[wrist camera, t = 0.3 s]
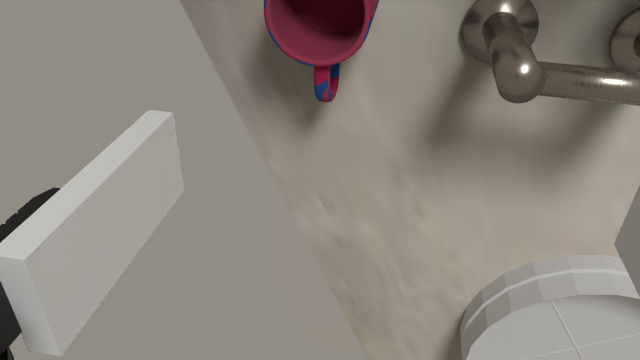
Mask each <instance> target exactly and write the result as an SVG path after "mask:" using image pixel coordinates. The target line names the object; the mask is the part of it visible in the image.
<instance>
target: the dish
mask: <svg viewBox="0 0 640 360" xmlns="http://www.w3.org/2000/svg"><path fill="white" fill-rule="evenodd" d="M460 336H461V355H462V360H640V297H639V295H638V293H637V291H636V289H635V287H634V285H633V282H632V280H631V278H630V276H629V274H628V272H627V270H626V268H625V266H624V264H623V262H622V260H621V258H616V257H610V256H605V255H568V256H561V257H556V258H551V259H546V260H541V261H536V262H532V263H529V264H527V265H525V266H522V267H520V268H517V269H515V270H512V271H510V272H508V273H505V274H503V275H502V276H500V277H499V278H498V279H496V280H495V281H493V282H492V283H490V284H489V285H488V286H486V287H485V288H483V289H482V290H481V291H480V292H479V293H478V295H477V296H476V297H475V298H474V299H473V301H472V302H471V303H470V304H469V306H468V307H467V308H466V311H465V314H464V317H463V320H462V323H461V325H460Z"/></svg>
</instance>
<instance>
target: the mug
mask: <svg viewBox="0 0 640 360" xmlns="http://www.w3.org/2000/svg"><path fill="white" fill-rule="evenodd" d="M378 2H379V0H264V17H265V22H266V25H267V28H268V31H269V33H270V35H271V37H272V39H273V41H274V42H275V43H276V44H277V46H278V47H279V48H280V49H281V50H282V51H283V52H284V53H285V54H286V55H288V56H289V57H291V58H292V59H294V60H296V61H298V62H300V63H302V64H306V65H310V66H314V83H315V93H316V97H317V99H318V100H319V101H321V102H331V101H332V100H333V99H334V97H335V95H336V92H337V88H338V81H339V68H340V62H342V61H345V60H346V59H348V58H349V57H351V56H352V55H353V54H354V53H355V52H356V51H357V50H358V49H359V48H360V47H361V45H362V44H363V42H364V41H365V39H366V37H367V34H368V32H369V29H370V26H371V23H372V20H373V17H374V14H375V11H376V8H377V5H378Z"/></svg>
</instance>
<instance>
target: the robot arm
mask: <svg viewBox="0 0 640 360" xmlns="http://www.w3.org/2000/svg"><path fill="white" fill-rule="evenodd" d="M183 191H184V184H183V177H182V171H181V163H180V157H179V150H178V143H177V136H176V129H175V122H174V115H173V112H163V111H154V110H148V111H147V112H146V113H145V114H144V115H143V116H142V117H140V118H139V119H138V120H137V121H136V122H135V123H134V124H133V125H132V126H130V127H129V128H128V129H127V130H126V131H125V132H124V133H123V134H121V135H120V136H119V137H118V138H117V139H116V140H115V141H114V142H113V143H111V144H110V145H109V146H108V147H107V148H106V149H105V150H104V151H102V152H101V153H100V154H99V155H98V156H97V157H96V158H95V159H94V160H92V161H91V162H90V163H89V164H88V165H87V166H86V167H85V168H84V169H83V170H81V171H80V172H79V173H78V174H77V175H76V176H75V177H73V178H72V179H71V180H70V181H69V182H68V183H67V184H66V185H64V186H63V187H62V188H52V189H50V190H48V191H46V192H44V193H42V194H40V195H38V196H36V197H34V198H32V199H31V200H30V201H29V202H28V203H26V204H25V205H24V206H23V207H22V208H21V209H19V210H18V213H15V214H14V215H12V217H10V218H9V219H8V220H7V221H6V224H2V225H1V226H0V360H14V357H13V355H12V352H11V350H10V348H9V346H10V345H11V344H12V342H13V341H14V340H15V339H16V338H17V336H18V335H19V334H20V333H21V334H22V336H23V339H24V341H25V343H26V345H27V348H28V350H29V351H32V352H37V353H43V354H49V355H54V356H60V357H61V356H62V355H63V353H64V352H65V351H66V349H67V348H68V347H69V345H70V344H71V343H72V341H73V340H74V339H75V337H76V336H77V334H78V333H79V332H80V330H81V329H82V327H83V326H84V325H85V324H86V322H87V321H88V320H89V318H90V317H91V315H92V314H93V313H94V311H95V310H96V309H97V307H98V306H99V305H100V303H101V302H102V301H103V299H104V298H105V297H106V295H107V294H108V293H109V291H110V290H111V289H112V287H113V286H114V284H115V283H116V282H117V280H118V279H119V278H120V276H121V275H122V273H123V272H124V271H125V269H126V268H127V267H128V266H129V264H130V263H131V262H132V260H133V259H134V257H135V256H136V255H137V253H138V252H139V251H140V249H141V248H142V247H143V245H144V244H145V243H146V241H147V240H148V239H149V237H150V236H151V234H152V233H153V232H154V230H155V229H156V227H157V226H158V225H159V223H160V222H161V221H162V220H163V218H164V217H165V215H166V214H167V213H168V211H169V210H170V209H171V207H172V206H173V205H174V203H175V202H176V201H177V199H178V198H179V197H180V195H181V194H182V193H183ZM614 245H615V247H616V249H617V251H618V253H619V255H620V258H621V260H622V262H623V264H624V266H625V268H626V270H627V272H628V274H629V276H630V278H631V280H632V282H633V285H634V287H635V289H636V291H637V293H638V295H639V297H640V186H639V188H638V190H637V193H636V195H635V197H634V199H633V202H632V204H631V206H630V209H629V211H628V213H627V216H626V218H625V220H624V222H623V225H622V227H621V229H620V232H619V234H618V236H617V239H616V241H615V243H614Z"/></svg>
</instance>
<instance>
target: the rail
mask: <svg viewBox="0 0 640 360" xmlns="http://www.w3.org/2000/svg"><path fill="white" fill-rule="evenodd" d="M538 26H539V20H538V15H537V12H536V9H535V7H534V6H533V4H532V3H531V2H530V0H477V1H476V2H475V3H474V4H473V5H472V6H471V8H470V9H469V10H468V12H467V14H466V16H465V19H464V23H463V38H464V42H465V45H466V47H467V49H468V50H469V52H470V53H471V54H472V55H473V56H474V57H476V58H477V59H479V60H481V61H483V62H487V63H491V67H492V70H493V74H494V77H495V81H496V85H497V88H498V91H499V94H500V95H501V96H502V97H503V98H504V99H505V100H507V101H509V102H512V103H524V102H528V101H530V100H532V99H533V98H535V97H536V96H537V95H540V96H550V97H560V98H569V99H579V100H589V101H598V102H608V103H618V104H628V105H637V106H640V7H639V8H637V9H635V10H634V11H632V12H631V13H629V14H628V15H627V16H625V17H624V18H623V19H622V20H621V21H620V22H619V24H618V25H617V26H616V28H615V30H614V31H613V34H612V36H611V39H610V44H609V51H610V56H611V59H612V60H613V62H614V63H615V65H616V66H617V67H618V68H619V69H612V68H601V67H590V66H580V65H569V64H559V63H548V62H538V61H537V59H536V57H535V55H534V53H533V51H532V49H531V47H530V46H531V45H532V43H533V42H534V40H535V38H536V35H537V32H538Z"/></svg>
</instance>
